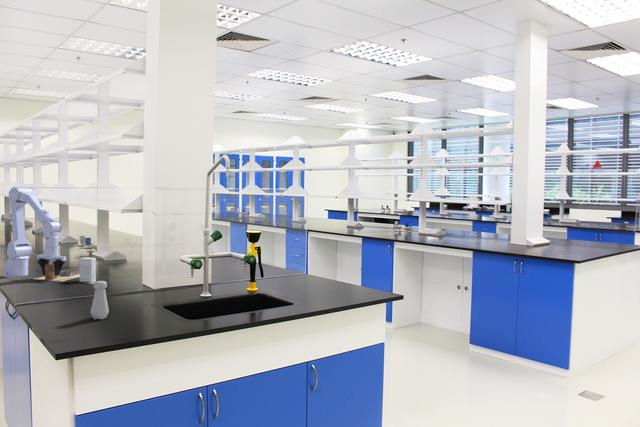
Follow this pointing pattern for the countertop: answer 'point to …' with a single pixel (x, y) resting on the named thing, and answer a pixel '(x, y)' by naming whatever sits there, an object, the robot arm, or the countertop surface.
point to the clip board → (64, 275)
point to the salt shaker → (99, 301)
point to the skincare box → (87, 270)
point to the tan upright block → (50, 272)
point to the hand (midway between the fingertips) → (51, 275)
